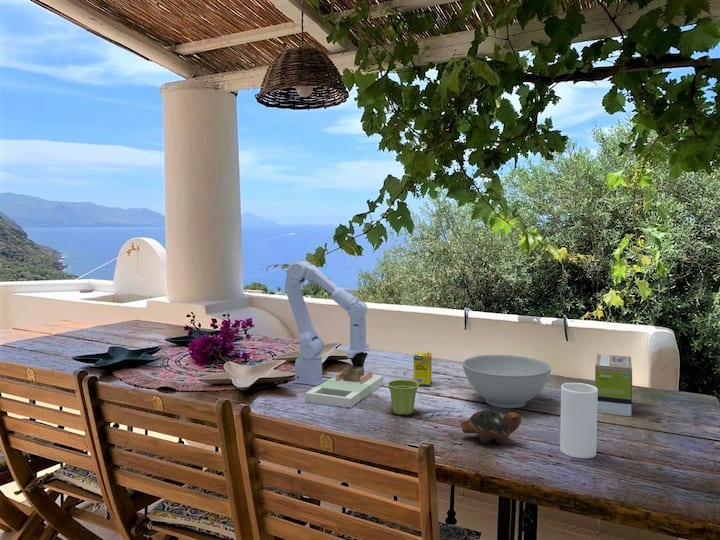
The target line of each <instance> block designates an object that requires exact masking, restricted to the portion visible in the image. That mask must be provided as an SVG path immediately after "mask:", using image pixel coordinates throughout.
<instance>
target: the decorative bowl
mask: <svg viewBox="0 0 720 540" xmlns="http://www.w3.org/2000/svg"><path fill="white" fill-rule="evenodd" d="M462 367H463V371H464V374H465V376H466V379H467V381H468V382H469V385H470V386H471V387H472V388H473V390H474V391H475V392H476V393H477V394H478V395H480V396H481V397H482V398H484V400H485V402H486V404H488V405H491V406H493V407H498V408H504V409H515V408H516V409H518V408H522V407H525V406H526V405H527V402H528V401H530V400H532V399H533V398H535V397H536V396H537V395H539V394H540V392H541V391H542V390H543V389H544V387H545V385H547V382H548V380H549V377H550V375H551V371H552V367H551V365H550V364H548V363H547V362H545V361H543V360H540V359H536V358H532V357H527V356H521V355H513V354H484V355H482V354H481V355H477V356H471V357H469V358H468V357H467V358H466V359H464V360H463V362H462Z"/></svg>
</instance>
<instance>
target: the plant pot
mask: <svg viewBox="0 0 720 540" xmlns="http://www.w3.org/2000/svg"><path fill="white" fill-rule="evenodd" d="M387 386H388V390H389V392H390V398H391V400H390V401H391V408H392V412H393V413H394V414H396V415H399V416H400V415H401V416H402V415H405V416H409V415H412V414H413V413H414V407H415V402H416V395H417V391H418V387H420V386H419V383H417V382H415V381H414V380H410V379H393V380H390V381H388V382H387Z"/></svg>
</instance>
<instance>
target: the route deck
mask: <svg viewBox="0 0 720 540" xmlns="http://www.w3.org/2000/svg"><path fill="white" fill-rule="evenodd" d="M384 383H385V382H384V375H380V374H373V371H372V370H371V371H367V372H366V373H364V375H363V376H362V377H360V381H359V382H350V381H343V370H342V371H340V372H338V373H337V374H335V375H334V376H332V377H331V378H329V379H327V380H325V381H324V382H322V383H320V384H318V385H315V387H313V388H311V389H310V390H308V391H306V392H305V394H304V396H305V397H304V399H305V400H304V401H305V403H309V404H317V405H324V406H330V405H332V407H338V406H342V407H341V408H345V407H349V408H348V409H352V408H353V407H355V406H356V405H357V404H359V403H360V402H361V401H363V400H364V399H365V398H367V397H368V396H369V395H371V394H372V393H374V392H375V391H376V390H377V389H379V388H381V385H382V384H383V385H384ZM383 385H382V386H383ZM378 387H379V388H378ZM374 390H375V391H374ZM370 393H371V394H370ZM366 396H367V397H366ZM363 398H364V399H363ZM362 399H363V400H362ZM360 400H361V401H360ZM359 401H360V402H359ZM358 402H359V403H358ZM356 403H357V404H356ZM355 404H356V405H355ZM354 405H355V406H354ZM352 406H353V407H352ZM351 407H352V408H351Z"/></svg>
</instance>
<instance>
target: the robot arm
mask: <svg viewBox="0 0 720 540" xmlns="http://www.w3.org/2000/svg"><path fill="white" fill-rule="evenodd" d="M285 273H286V279H285V283H284V289H285V294H286V296H287V299H288V302H289V305H290V309H291V311H292V314H293V318H294V321H295V324H296V327H297V329H298V333H299V338H298V343H299V353H300V356H298V357H296V360H295V363H294V381H293V383H294V384H302V385H311V386H318V385H320V384H322V383H323V382H325V381H327V380H328V378H324V377H323V355H322V352H323V350H324V342H323V340H322V339H321V338H320V337H319V335H318V332H317V331H316V330H315V328H314V326H313V323H312V320H311V317H310V314H309V310H308V309H307V308H308V307H307V305H306V301H305V299H304V296H303V292H302V290H301V288H302V287H303V284H304V283H305V282H306V281H313V282H314V283H316V284H318V285H319V286H320V287H321V288H323V289H324V290H326V291H327V292H328V293H329V294H331V298H332V300H333V301H334V302H335V303H336V304H337V305H338V306H340V307H341V308H342V309H343V310H344V311H346V312H347V315H348V316H349V319H350V320H349V348H348V351H347V352H346V359H347V358H349V359H350V360H349V361H351V363H352V366H359V367H364V364H365V361H366V358H367V357H368V352H369V351H370V348H369V344H368V343H367V320H366V314H367V313H368V307H367V304H366V303H365V302H364V301H363V300H360V299H359V297H355V296H354V295H353V294H352V293H350V292H349V289H348V288H347V287H343V286H340V287H339V286H337V285H336V284H335V283H334V282H333V281H332V280H331V279H329V278H328V276H326V275H325V274H324V273H323V272H322V271H321V270H320V269H319V268H318V267H317V266H316V265H314V264H312V262H310V261H308V260H301V261H294V262H291V264H290V265H289V266H288V268H287V269H286V272H285Z"/></svg>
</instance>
